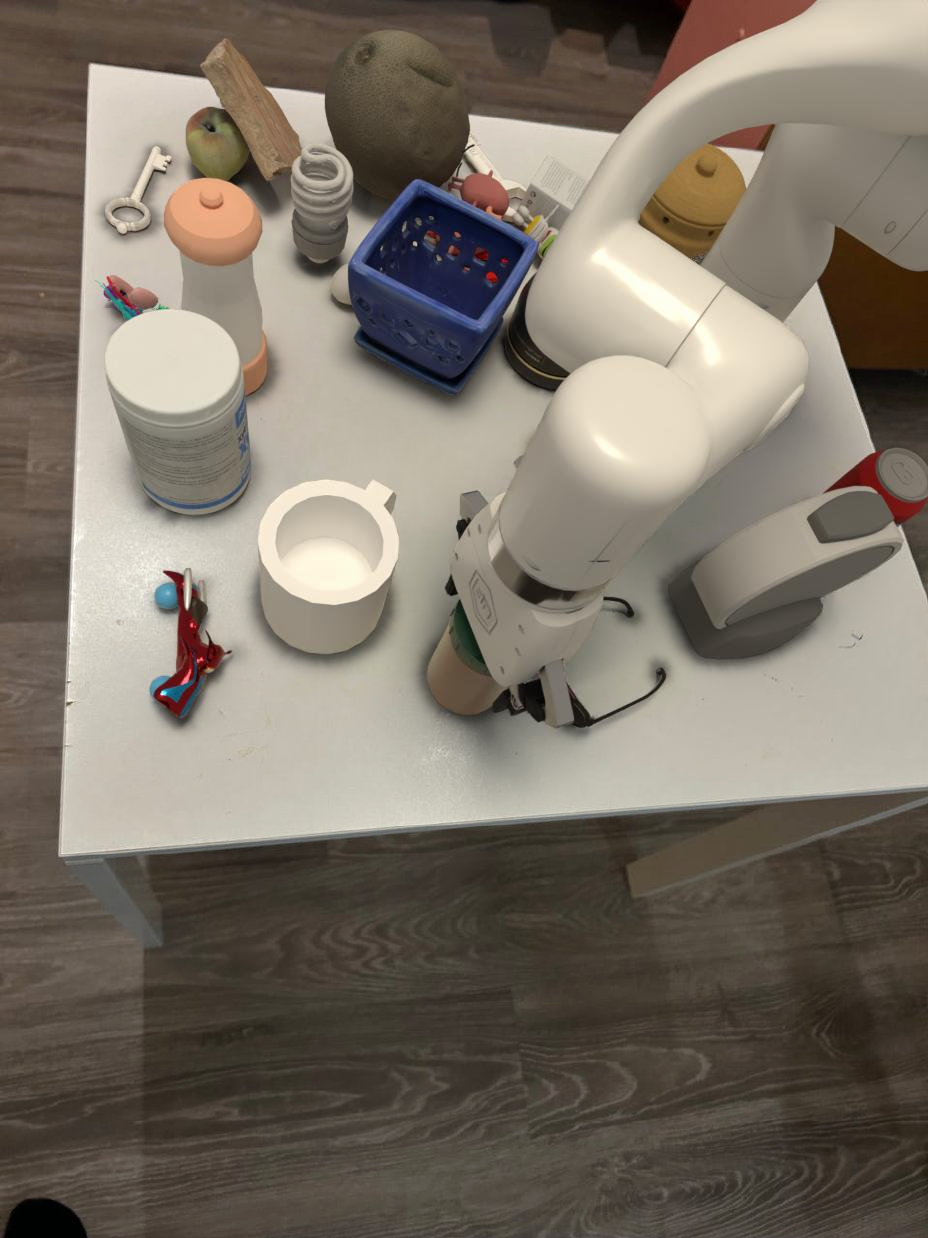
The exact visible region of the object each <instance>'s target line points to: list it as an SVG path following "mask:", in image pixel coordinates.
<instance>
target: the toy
mask: <svg viewBox="0 0 928 1238" xmlns="http://www.w3.org/2000/svg"><path fill="white" fill-rule="evenodd" d="M473 146H475V144H472V145H471V146H469V147H467V148H466V149H465V150H464V151H463V152H462V153H464V152H466V151H467V150H468V149H469V148H471V147H473ZM462 165H463V161H461V162H460V164H459V166H458V167H457V169H456V172H455V177H456V178H459V172H460V169H461V167H462ZM518 207H519V208H518ZM518 207H517V209H518V213H517V212H516V213H514V214H513V216H512V219H513V221H514V222H513V223H514V224H515V225H516V226H518V227H521V226H522V227H523V229H522V232H523V233H525V234H527V235H528V236H530V237H532V238H533V239H535V240H536V241H537V242H538V244H539V247H538V251H537V254H538V256H539V258H540V259H541V260H543V259H544V257H545V255H546V253H547V251H548V249H549V248H550V246H551V244H552V242H553V241H554V239H555V237H556V236H557V234H558V232H559V231H558V230H557V229H555V228H553V227H548V224H547V220H548V219H549V218H550V217H551V216H552V215H553V214H554V212H555V211H556V210H557V209H558V207H559V205H557V206H556V207H555V208H554V210H552V211H551V213H550V214H549V216H548V217H547V218H546V219H544V218H543V215H537V216H535V217H533V218H532V217H531V216H530V215H529V210H528V209H527V208H526V207H525V206H519V205H518ZM526 218H527V219H528V220H529V221H530V222H529V223H528V222H527V221H525V220H524V219H526Z"/></svg>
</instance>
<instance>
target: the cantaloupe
mask: <svg viewBox="0 0 928 1238" xmlns="http://www.w3.org/2000/svg"><path fill="white" fill-rule="evenodd" d="M325 83H326V84H325V88H324V111H325V112H324V113H325V117H326V118H325V119H326V122H327V126H328V129H329V133H330V134H331V138H332V141H333V142H332V143H333V144H334V149H336V150H338V151H339V152H340V153H342V154H343V155H344V156H345V157H346V159H347V160H348V161H349V163H350V165H351V167H352V171H353V180H354V181H356V182H357V183H358V184H359V185H360V186H361V187H363V188H364V189H365V190H366V191H368V192H370V193H372V194H373V195H376V196H378V197H380V198H383V199H387V200H391V201H395V200H396V199H397V198H398V196H399V195H400V194H401V193H402V192H403V191H404V190H405V188H406V187H407V186H408V185H409V184H410V183H411V182H412V181H414V180H416V179H419V180H423V181H425V182H427V183H430V184H432V185H434V186H436V187H438V188H440V189H441V187H442V186H443V185H445V184H446V183H447V182H448V181H449V180H450V179H451V178H452V177H453V175H454V174H456V172H457V169H458V167H459V165H460V163H461V162H462V160H463V157H464V156H465V154H464V153H462V152H463V151H464V150H465V148H466V146H467V143H468V139H469V134H470V132H471V123H470V116H469V108H468V102H467V101H468V100H467V97H466V93H465V89H464V87H463V85H462V82H461V81H460V79H459V77H458V74H457V72H456V69H455V67H454V66H453V64H452V63H451V62H450V60H449V59H448V58H447V57H446V56H445V55H444V54H443V52H441V50H439V49H438V48H437V47H436V46H435V45H434V44H432V43H431V42H429V41H428V40H427V39H425V38H423V37H421V36H419V35H417V34H414V33H412V32H408V31H404V30H397V29H382V30H377V31H373V32H371V33H367V34H364V35H361V36H360V37H358V38H357V39H355V40H354V41H352V42H351V43H350V44H348V45H347V46H346V47H344V49H343V50H342V51H341V52H340V53H339V54H338V56H337V57H336V58H335V60H334V62H333V63H332V66H331V69H330V71H329V74H328V76H327V80H326V82H325Z"/></svg>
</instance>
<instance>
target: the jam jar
mask: <svg viewBox="0 0 928 1238" xmlns="http://www.w3.org/2000/svg"><path fill="white" fill-rule="evenodd" d="M449 624H450V621H449V622H448V624H447V626H446V628H445V630H444V633H443V634H442V636H441V638H440V640H439V642H438V644H437V646H436V648H435V650H434V652H433V654H432V656H431V657H430V660H429V662H428V665H427V670H426V681H427V685H428V689H429V691H430V694H431V696H432V697H433V698H434V699H435V701H436V702H437V703H438V704H439V705H440V706H441V707H443V708H444V709H445V710H447V711H449V712H451V713H454V714H457V715H462V716H472V715H473V716H475V715H479V714H482V713H483V712H485V711H487V710H489V709H490V708H492V706H493V705H492V703H493V702H494V701H495V700H496V699H497V697H498V696H499V695H500V694H501V693H502V691H504V690H506V689H508V688H509V687H503V686H501V685H500V684H499V683H497V682H496V681H495V679H494V678H493V677H492V676H488V675H483V674H482V673H479V672H477V671H475V670H474V669H472V668H470V667H469V666H466V665H467V664H465V663H464V662H463V661H462V659H461V658H460V657H459V656H458V654H457V653H456V651H454V647H453V645H452V642H451V639H450V634H449Z"/></svg>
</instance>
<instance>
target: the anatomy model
mask: <svg viewBox="0 0 928 1238" xmlns="http://www.w3.org/2000/svg"><path fill="white" fill-rule="evenodd" d="M105 278H106V281H107V283H108V284H107V285H106V284H105V283H104V282H102V284H101V282H100V281H98V280H96V279H95V280H94V281H95V282H96V283H97V284H98V285H99V287H101V288H102V289H103V292H102V293H103V296H104V297H105V298H106V299H107V301H108V302H112V304H113V306H114V307H115V308H116V309H117V310H118V311H120V312H121V314H122V315H123V316H122V317H123V319H124V320H126V322H127V321H128V320H130V319H132V318H133V317H135V316H138V315H140V314H143V312H144V311H145V310H150V309H152V311H155V310H163V309H170V307H168V306H165V305H161V303H159V297H158V296H157V295H156V294H155V293H153V292H152V291H151V290H148V289H146V288H144V287H139V286H138V287H135V288H134V286H132V285H131V284H130V283H129V282H127V281H126V280H125V279H123V278H122V277H119V276H118V275H115V274H111V275H110V276H109V275H107V276H106V277H105ZM157 305H158V307H156V306H157ZM155 307H156V308H155Z"/></svg>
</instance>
